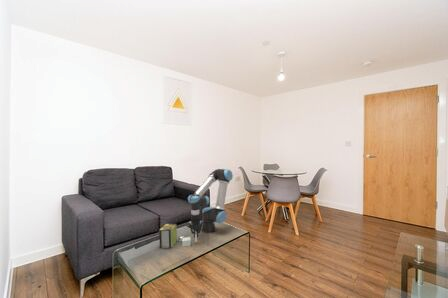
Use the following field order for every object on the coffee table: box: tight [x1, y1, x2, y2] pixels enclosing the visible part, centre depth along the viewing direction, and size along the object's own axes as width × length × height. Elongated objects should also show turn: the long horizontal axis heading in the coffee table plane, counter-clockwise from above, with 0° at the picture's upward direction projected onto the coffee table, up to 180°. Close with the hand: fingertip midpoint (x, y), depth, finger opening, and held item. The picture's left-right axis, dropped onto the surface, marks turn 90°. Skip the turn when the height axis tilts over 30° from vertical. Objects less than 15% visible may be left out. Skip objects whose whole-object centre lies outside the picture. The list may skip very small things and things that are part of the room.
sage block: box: [181, 236, 192, 248], centre depth 181 cm, size 7×7×5 cm
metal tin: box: [177, 234, 186, 243], centre depth 189 cm, size 6×6×4 cm
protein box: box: [158, 223, 178, 249], centre depth 183 cm, size 10×15×16 cm
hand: (196, 240), depth 182 cm, fingers closed
